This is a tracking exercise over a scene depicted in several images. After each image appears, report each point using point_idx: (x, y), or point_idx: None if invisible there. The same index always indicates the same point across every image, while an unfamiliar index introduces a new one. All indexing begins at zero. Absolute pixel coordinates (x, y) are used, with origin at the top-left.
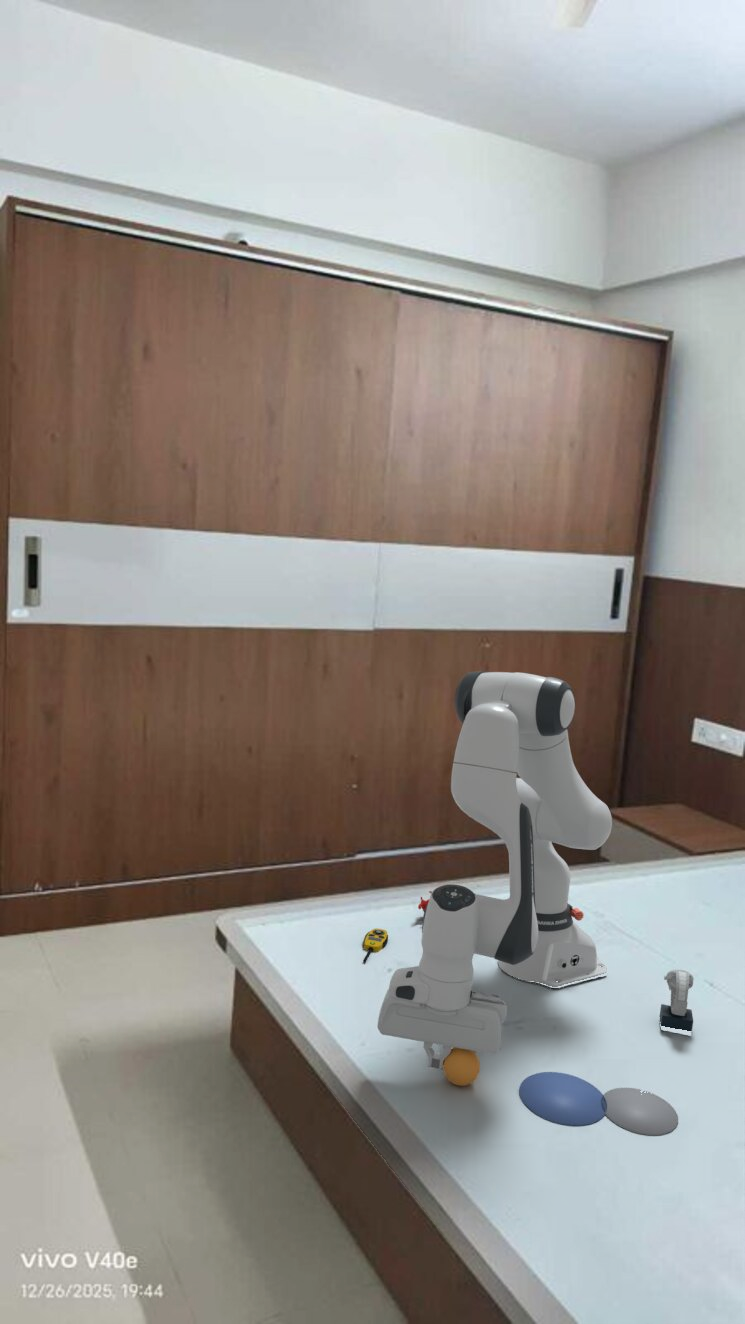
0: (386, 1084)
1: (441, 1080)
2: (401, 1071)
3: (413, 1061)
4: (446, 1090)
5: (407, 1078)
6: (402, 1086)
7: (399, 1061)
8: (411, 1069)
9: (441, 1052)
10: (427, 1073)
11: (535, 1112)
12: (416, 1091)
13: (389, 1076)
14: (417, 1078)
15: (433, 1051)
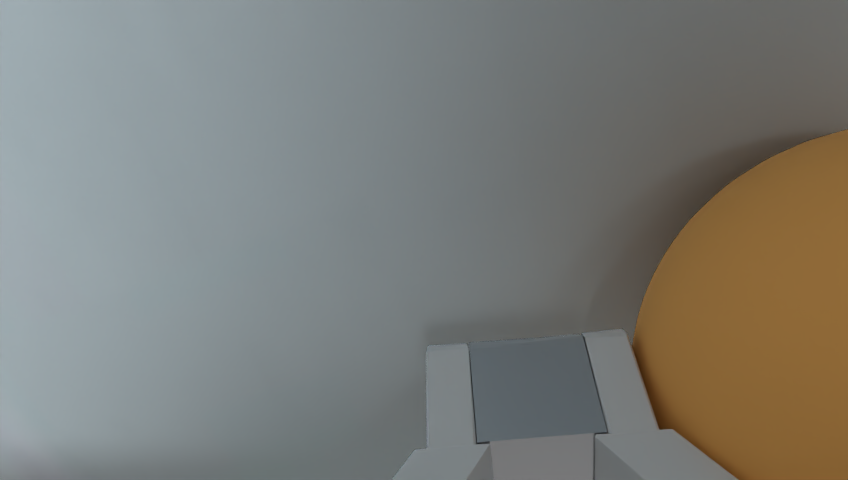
0: (116, 475)
1: (590, 269)
2: (135, 280)
3: (163, 44)
4: None
5: (244, 355)
6: (252, 456)
7: (7, 117)
8: (216, 211)
9: (616, 465)
10: (413, 213)
11: None
12: (389, 471)
13: (75, 384)
14: (337, 323)
15: (479, 473)
